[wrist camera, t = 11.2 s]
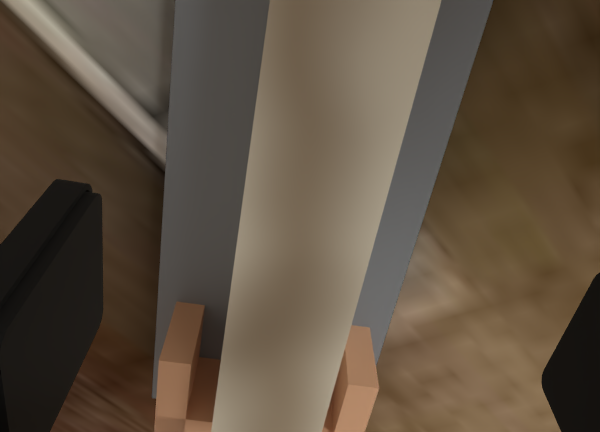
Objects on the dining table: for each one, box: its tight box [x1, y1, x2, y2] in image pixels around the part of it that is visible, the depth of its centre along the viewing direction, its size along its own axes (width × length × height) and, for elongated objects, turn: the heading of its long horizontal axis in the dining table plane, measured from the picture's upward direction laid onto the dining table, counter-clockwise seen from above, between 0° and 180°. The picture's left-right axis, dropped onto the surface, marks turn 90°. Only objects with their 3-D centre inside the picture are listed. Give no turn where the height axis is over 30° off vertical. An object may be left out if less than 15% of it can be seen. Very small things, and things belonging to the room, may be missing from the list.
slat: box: [211, 0, 442, 432], centre depth 18 cm, size 4×22×5 cm, turn 170°
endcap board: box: [152, 0, 493, 432], centre depth 19 cm, size 10×30×5 cm, turn 170°
